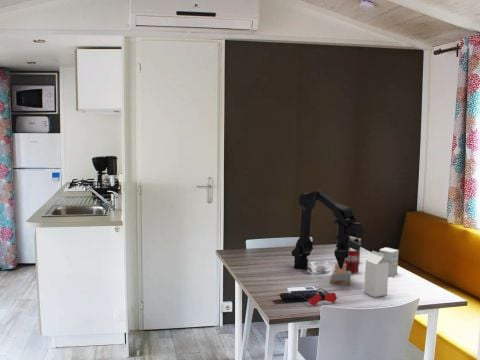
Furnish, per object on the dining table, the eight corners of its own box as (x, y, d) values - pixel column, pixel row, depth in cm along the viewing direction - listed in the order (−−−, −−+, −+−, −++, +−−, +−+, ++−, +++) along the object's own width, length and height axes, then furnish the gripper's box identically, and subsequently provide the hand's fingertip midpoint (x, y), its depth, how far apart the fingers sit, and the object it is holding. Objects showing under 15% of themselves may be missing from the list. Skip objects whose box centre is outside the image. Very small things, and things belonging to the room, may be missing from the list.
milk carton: (374, 297, 219) (377, 255, 217) (363, 292, 225) (366, 251, 223) (387, 295, 222) (389, 253, 220) (375, 290, 228) (378, 249, 226)
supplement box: (377, 273, 254) (378, 249, 252) (384, 270, 259) (385, 246, 257) (390, 276, 249) (392, 252, 247) (397, 273, 254) (399, 249, 252)
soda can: (358, 274, 251) (359, 251, 250) (343, 273, 253) (344, 250, 251) (358, 270, 258) (359, 247, 257) (343, 269, 260) (344, 246, 258)
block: (334, 273, 237) (335, 265, 237) (335, 270, 242) (335, 262, 241) (345, 274, 236) (345, 266, 235) (345, 271, 241) (346, 263, 240)
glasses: (309, 308, 207) (309, 296, 206) (290, 294, 222) (290, 284, 221) (337, 303, 212) (338, 292, 211) (317, 291, 227) (317, 280, 226)
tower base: (330, 284, 236) (330, 279, 236) (331, 279, 245) (331, 274, 245) (349, 286, 234) (349, 281, 234) (350, 281, 243) (350, 276, 242)
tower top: (331, 279, 237) (332, 274, 236) (334, 274, 244) (334, 269, 244) (349, 281, 234) (349, 276, 234) (350, 276, 242) (350, 271, 241)
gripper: (360, 239, 225) (358, 273, 227) (361, 231, 243) (359, 262, 245) (335, 237, 228) (333, 271, 230) (337, 229, 246) (336, 260, 248)
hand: (341, 265), depth 238 cm, fingers open, 9 cm apart
